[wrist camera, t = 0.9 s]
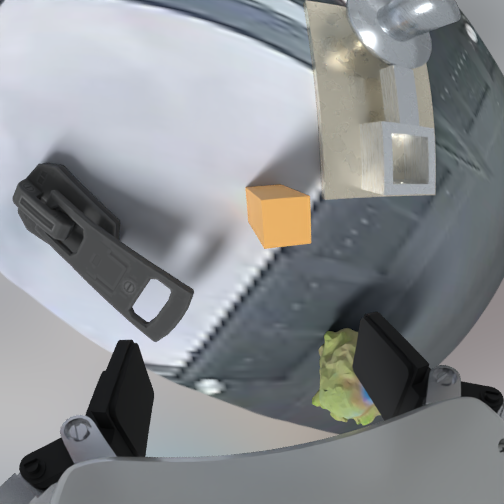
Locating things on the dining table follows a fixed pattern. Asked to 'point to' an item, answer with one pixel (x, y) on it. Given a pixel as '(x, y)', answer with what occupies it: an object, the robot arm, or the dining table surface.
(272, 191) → the orange rectangular block
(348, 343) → the relief earth globe
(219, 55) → the dining table surface
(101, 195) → the dining table surface
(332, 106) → the door knob latch
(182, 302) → the zipper pull
